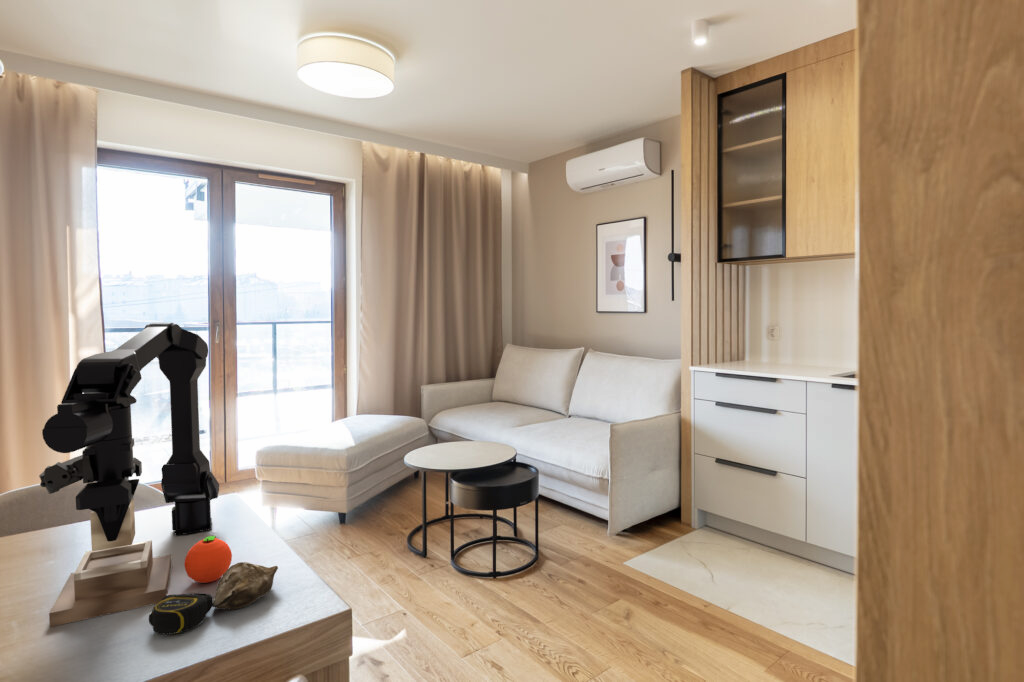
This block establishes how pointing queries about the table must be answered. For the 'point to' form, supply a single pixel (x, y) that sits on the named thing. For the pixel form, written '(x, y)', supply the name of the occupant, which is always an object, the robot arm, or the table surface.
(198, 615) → the tape measure
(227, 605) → the fossilized seashell
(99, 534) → the maple block
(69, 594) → the tower base
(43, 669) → the table surface
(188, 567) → the clementine
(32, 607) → the table surface
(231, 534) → the table surface
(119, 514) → the robot arm
